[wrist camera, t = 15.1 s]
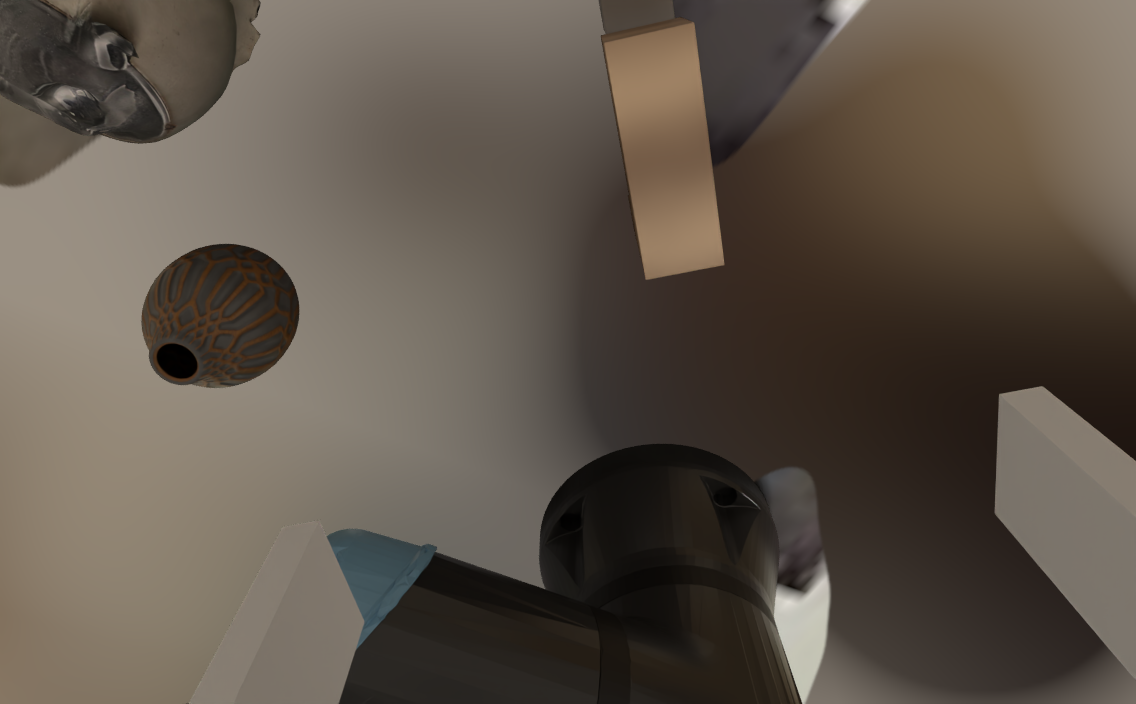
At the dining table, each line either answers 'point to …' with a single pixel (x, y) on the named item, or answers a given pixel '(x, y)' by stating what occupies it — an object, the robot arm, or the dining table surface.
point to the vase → (219, 316)
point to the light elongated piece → (662, 135)
